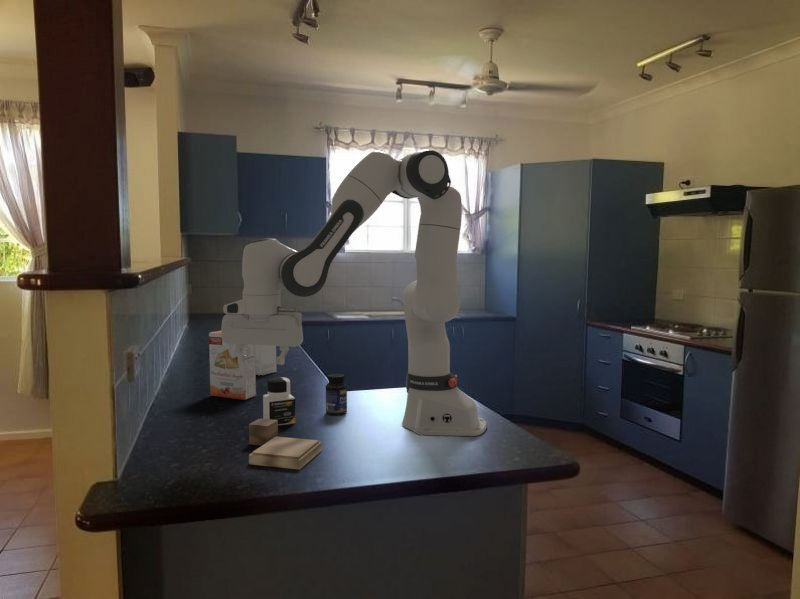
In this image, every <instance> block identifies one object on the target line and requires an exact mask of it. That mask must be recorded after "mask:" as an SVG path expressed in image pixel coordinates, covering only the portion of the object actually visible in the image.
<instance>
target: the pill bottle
mask: <svg viewBox="0 0 800 599" xmlns="http://www.w3.org/2000/svg"><path fill="white" fill-rule="evenodd" d="M327 376H328V377H327V381H328V382H327V383H326V385H325V412H326V414H327V415H329V416H342V415H343V416H344V415H345V414H347V412H348V384H346V383H345V382H344V381H345V374H343V373H332V374H328V375H327Z"/></svg>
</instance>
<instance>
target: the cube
mask: <svg viewBox="0 0 800 599" xmlns="http://www.w3.org/2000/svg"><path fill="white" fill-rule="evenodd" d="M248 430H249V431H248V435H249V437H248V438H249V445H254V446H260V447H261V446H262V445H264V444H265V443H267V442H268V441H270V440H271V439H273V438H274V437H279V425H278V420H272V419H263V418H258V419H256V420H255V421H252V422H251V423H249V424H248Z"/></svg>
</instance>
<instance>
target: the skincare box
mask: <svg viewBox="0 0 800 599" xmlns="http://www.w3.org/2000/svg"><path fill="white" fill-rule="evenodd" d="M276 357H277V346H267V345H255V365H256V375H257V376H260V375H262V376H265V375H268V374H273V373H277V365H276Z"/></svg>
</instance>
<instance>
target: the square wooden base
mask: <svg viewBox="0 0 800 599" xmlns="http://www.w3.org/2000/svg"><path fill="white" fill-rule="evenodd" d="M322 451H323V442H322V441H320V440H318V439H307V438H295V437H285V436H278V437H274V438H273V439H271V440H270V441H268V442H267V443H265V444H264V445H262V446H261V445H260V446H259V447H258V448H256V449H255V450H253V451H252V452H251V453H249V455H248V464H249V465H252V466H253V465H254V466H264V467H273V468H281V469H282V468H283V469H291V470H301V469H303V468H304V467H305V466H306V465H307V464H308V463H310V461H311V460H313V459H314V458H315V457H316V456H318V454H320V453H321V452H322Z"/></svg>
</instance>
